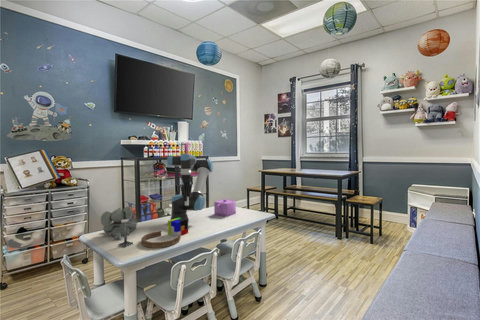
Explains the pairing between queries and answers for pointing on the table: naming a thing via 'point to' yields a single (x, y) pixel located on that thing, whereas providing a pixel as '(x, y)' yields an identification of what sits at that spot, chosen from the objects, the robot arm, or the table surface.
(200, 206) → the robot arm
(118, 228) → the plush elephant
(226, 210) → the purple lidded box
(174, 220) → the puzzle toy
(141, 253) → the table surface
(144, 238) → the rim
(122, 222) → the dial gauge stand
